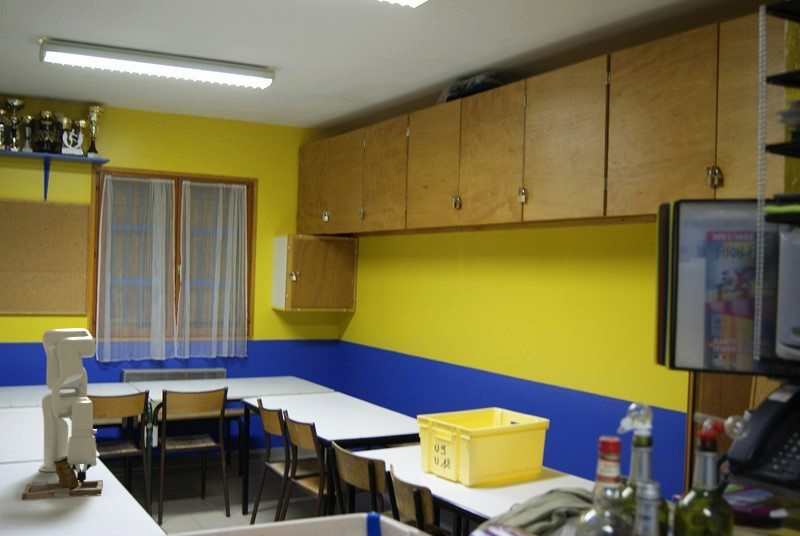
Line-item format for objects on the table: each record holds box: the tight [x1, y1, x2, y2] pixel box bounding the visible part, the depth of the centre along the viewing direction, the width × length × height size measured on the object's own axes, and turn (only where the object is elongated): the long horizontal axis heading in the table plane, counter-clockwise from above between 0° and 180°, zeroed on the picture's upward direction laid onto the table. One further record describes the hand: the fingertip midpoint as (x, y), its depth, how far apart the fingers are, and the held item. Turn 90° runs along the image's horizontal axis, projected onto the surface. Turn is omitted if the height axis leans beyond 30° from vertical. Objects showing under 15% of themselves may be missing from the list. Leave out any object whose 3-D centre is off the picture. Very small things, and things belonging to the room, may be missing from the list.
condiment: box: [54, 456, 81, 490], centre depth 313 cm, size 7×8×12 cm
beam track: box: [21, 479, 104, 501], centre depth 313 cm, size 16×27×4 cm, turn 107°
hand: (81, 482), depth 315 cm, fingers closed
